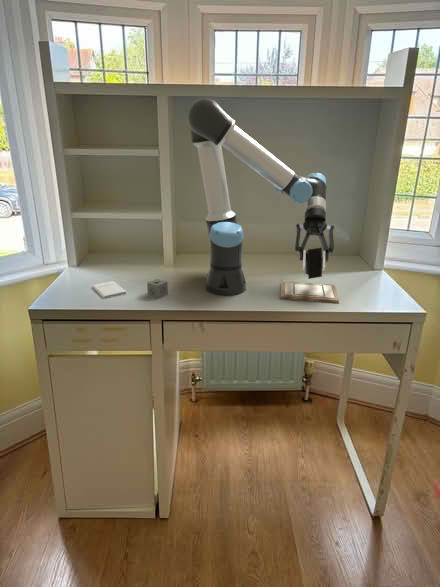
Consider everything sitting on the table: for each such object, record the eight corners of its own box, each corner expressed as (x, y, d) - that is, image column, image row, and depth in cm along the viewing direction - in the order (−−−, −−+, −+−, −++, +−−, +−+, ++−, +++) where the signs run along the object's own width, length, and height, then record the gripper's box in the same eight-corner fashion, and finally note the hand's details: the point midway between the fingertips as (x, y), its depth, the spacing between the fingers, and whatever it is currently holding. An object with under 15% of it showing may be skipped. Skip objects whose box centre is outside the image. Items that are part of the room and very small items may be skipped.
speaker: (325, 277, 145) (325, 248, 142) (308, 279, 145) (308, 249, 142) (319, 272, 152) (319, 244, 149) (304, 273, 153) (303, 245, 149)
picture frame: (280, 298, 146) (280, 295, 146) (281, 283, 160) (281, 280, 160) (338, 303, 144) (339, 299, 143) (334, 287, 158) (334, 284, 157)
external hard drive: (104, 300, 145) (92, 288, 154) (126, 295, 149) (114, 284, 158) (103, 296, 144) (92, 284, 154) (126, 291, 148) (113, 280, 158)
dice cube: (147, 295, 148) (147, 282, 146) (157, 291, 151) (157, 278, 149) (158, 299, 145) (157, 285, 143) (168, 294, 149) (167, 281, 147)
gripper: (340, 218, 155) (340, 274, 147) (288, 216, 158) (285, 271, 149) (343, 207, 149) (343, 265, 140) (289, 205, 151) (286, 262, 143)
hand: (313, 268), depth 145 cm, fingers closed on speaker, 6 cm apart
